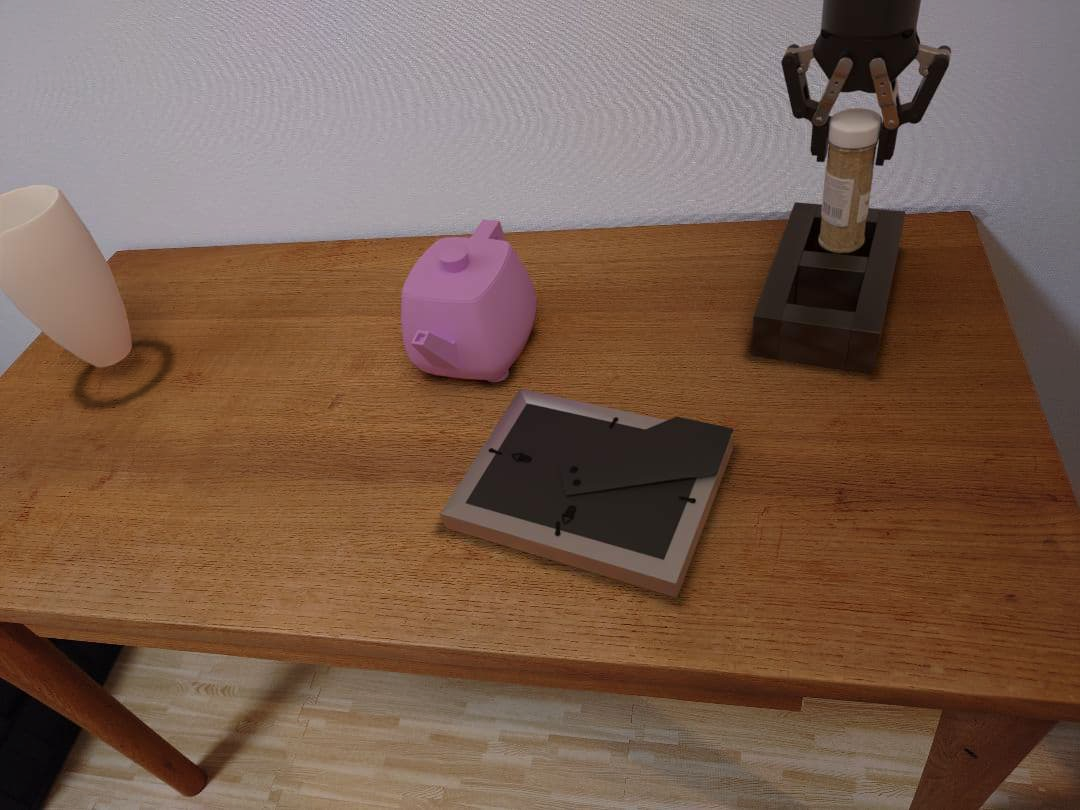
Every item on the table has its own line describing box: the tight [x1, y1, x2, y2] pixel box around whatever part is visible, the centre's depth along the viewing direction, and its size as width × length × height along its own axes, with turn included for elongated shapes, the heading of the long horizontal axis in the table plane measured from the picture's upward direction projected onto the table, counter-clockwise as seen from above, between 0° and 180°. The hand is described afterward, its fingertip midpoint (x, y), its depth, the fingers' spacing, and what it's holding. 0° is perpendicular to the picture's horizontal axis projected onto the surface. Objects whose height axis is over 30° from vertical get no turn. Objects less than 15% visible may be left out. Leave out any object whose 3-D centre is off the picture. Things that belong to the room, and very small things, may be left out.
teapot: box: [400, 219, 538, 383], centre depth 81 cm, size 20×12×13 cm, turn 161°
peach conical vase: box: [0, 184, 133, 368], centre depth 85 cm, size 10×10×22 cm
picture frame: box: [439, 388, 734, 599], centre depth 69 cm, size 16×3×21 cm
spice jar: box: [818, 107, 883, 254], centre depth 77 cm, size 5×5×13 cm
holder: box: [751, 201, 907, 375], centre depth 81 cm, size 11×20×5 cm, turn 157°
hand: (851, 159), depth 76 cm, fingers closed on spice jar, 4 cm apart
